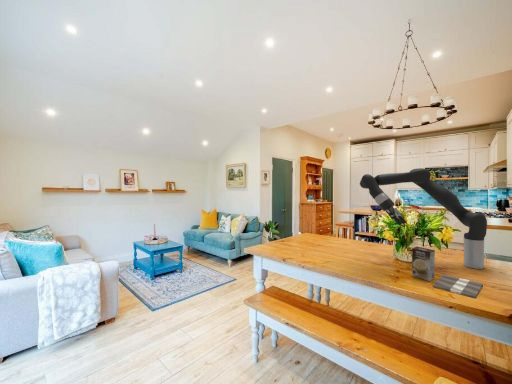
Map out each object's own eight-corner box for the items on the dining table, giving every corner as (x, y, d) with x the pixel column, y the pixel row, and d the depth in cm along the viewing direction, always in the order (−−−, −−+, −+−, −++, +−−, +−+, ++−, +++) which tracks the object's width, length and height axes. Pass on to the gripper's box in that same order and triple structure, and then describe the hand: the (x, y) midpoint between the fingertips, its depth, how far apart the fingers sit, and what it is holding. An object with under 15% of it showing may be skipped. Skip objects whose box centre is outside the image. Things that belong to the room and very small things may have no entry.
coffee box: (411, 276, 133) (411, 248, 132) (416, 273, 136) (416, 246, 136) (429, 281, 125) (430, 251, 124) (435, 278, 128) (435, 249, 128)
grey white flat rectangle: (443, 276, 131) (443, 274, 131) (482, 285, 119) (482, 283, 119) (432, 286, 119) (432, 284, 119) (475, 298, 106) (475, 296, 106)
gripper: (385, 198, 136) (405, 221, 129) (393, 197, 146) (412, 219, 139) (374, 205, 140) (393, 228, 133) (382, 205, 150) (401, 226, 143)
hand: (403, 223), depth 136 cm, fingers open, 8 cm apart
